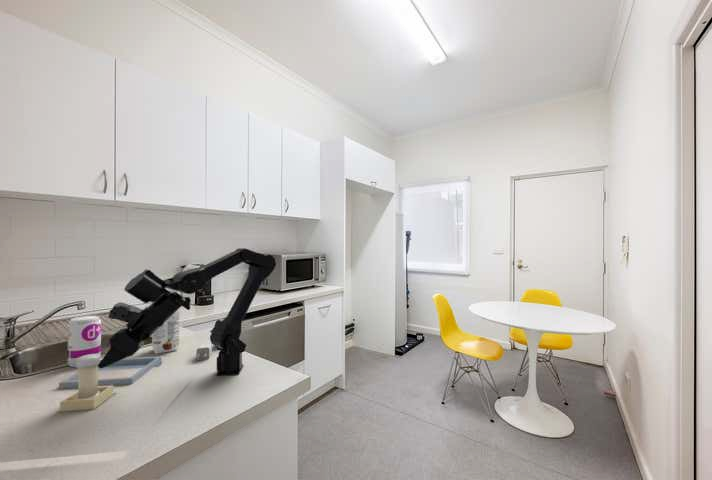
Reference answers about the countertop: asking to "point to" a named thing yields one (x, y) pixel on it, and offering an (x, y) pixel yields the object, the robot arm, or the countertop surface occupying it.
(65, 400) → the yellow rectangular frame
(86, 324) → the supplement can
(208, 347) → the usb wall charger
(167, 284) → the robot arm
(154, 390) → the countertop surface
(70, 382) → the tray
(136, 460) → the countertop surface
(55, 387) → the countertop surface
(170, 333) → the juice carton
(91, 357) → the pale spool-shaped piece
